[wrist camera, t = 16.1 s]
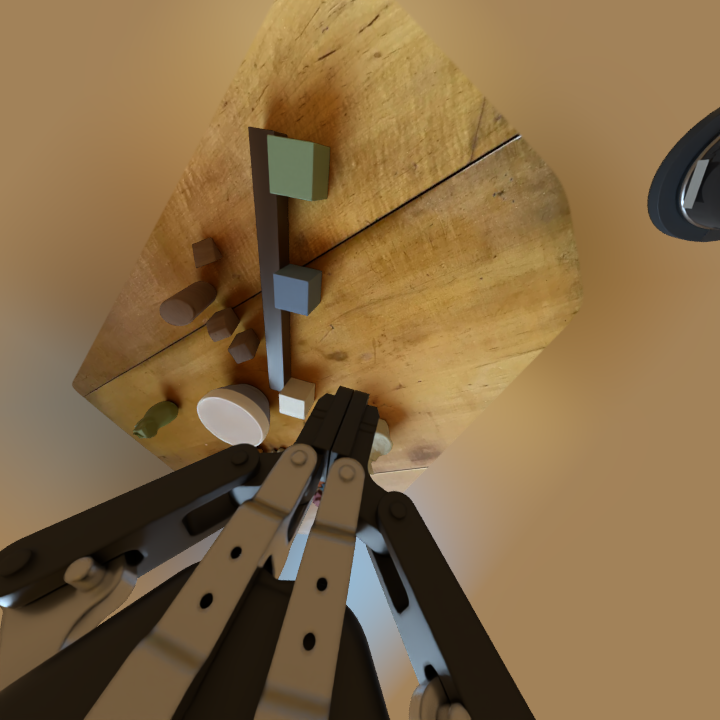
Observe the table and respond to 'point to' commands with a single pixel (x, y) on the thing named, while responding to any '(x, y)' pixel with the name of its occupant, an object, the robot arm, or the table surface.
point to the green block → (298, 168)
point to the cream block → (296, 398)
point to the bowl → (236, 414)
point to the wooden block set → (199, 297)
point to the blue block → (297, 289)
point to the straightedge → (271, 257)
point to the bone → (380, 443)
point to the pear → (156, 419)
